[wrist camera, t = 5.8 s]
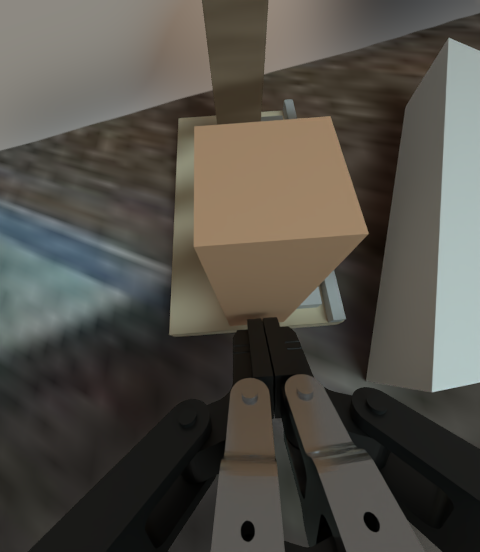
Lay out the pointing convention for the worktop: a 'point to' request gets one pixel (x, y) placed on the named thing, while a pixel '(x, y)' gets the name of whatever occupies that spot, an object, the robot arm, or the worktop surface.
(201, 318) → the board
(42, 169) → the worktop surface
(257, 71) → the fixed leg
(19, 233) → the worktop surface
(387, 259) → the triangle block
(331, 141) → the block
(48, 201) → the worktop surface
